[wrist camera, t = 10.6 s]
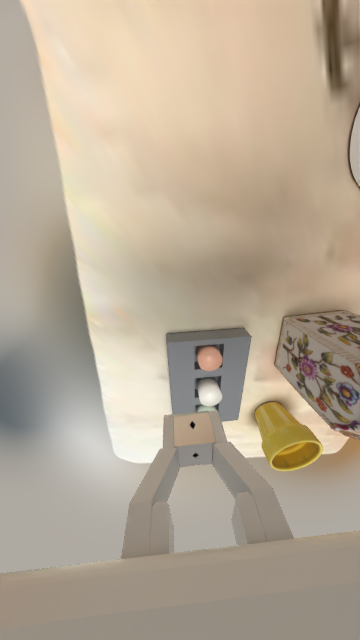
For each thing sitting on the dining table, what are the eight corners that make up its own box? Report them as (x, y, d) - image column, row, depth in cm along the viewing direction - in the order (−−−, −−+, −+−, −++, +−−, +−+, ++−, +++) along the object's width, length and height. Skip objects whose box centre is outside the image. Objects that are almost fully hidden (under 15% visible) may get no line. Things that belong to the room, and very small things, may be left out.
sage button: (214, 397, 35) (218, 410, 33) (213, 410, 37) (217, 423, 34) (195, 399, 35) (198, 412, 33) (195, 412, 37) (198, 425, 34)
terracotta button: (218, 340, 30) (223, 350, 27) (216, 359, 31) (221, 370, 29) (195, 342, 29) (198, 352, 27) (195, 360, 31) (198, 372, 28)
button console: (243, 328, 30) (251, 336, 28) (232, 407, 39) (238, 419, 36) (166, 333, 30) (166, 342, 27) (173, 413, 38) (173, 426, 36)
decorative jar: (326, 360, 35) (464, 460, 19) (272, 366, 35) (366, 475, 19) (345, 307, 30) (555, 382, 14) (282, 314, 30) (423, 399, 14)
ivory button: (217, 376, 31) (222, 388, 29) (216, 391, 33) (221, 405, 30) (196, 378, 31) (199, 391, 28) (196, 393, 33) (199, 407, 30)
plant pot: (285, 421, 43) (316, 467, 34) (246, 427, 43) (267, 475, 34) (292, 392, 39) (330, 437, 30) (248, 399, 38) (273, 446, 30)
